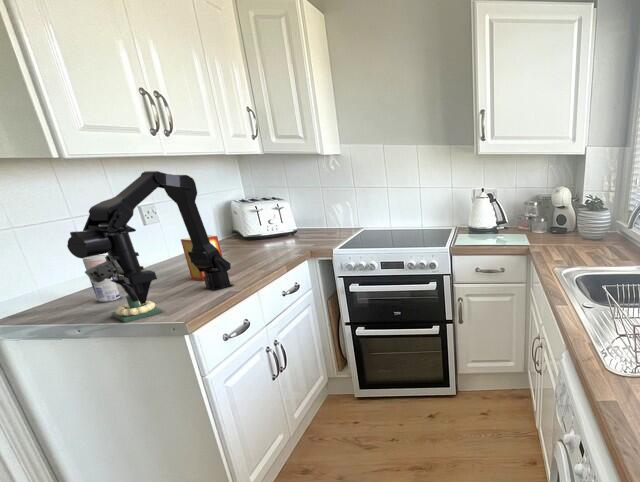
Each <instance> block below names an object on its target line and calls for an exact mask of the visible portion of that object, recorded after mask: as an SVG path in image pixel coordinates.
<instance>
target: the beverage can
mask: <svg viewBox="0 0 640 482" xmlns="http://www.w3.org/2000/svg"><path fill="white" fill-rule="evenodd" d="M105 257H106V255H105V254H100V255H96V256H91V257H86V258H81V260H82V263H83V266H84V267H85V271H86V270H88V269H90V268H92V267H95V266H97V265H99V264H101V263H103V262H105V261H106V259H105ZM88 279H89V282H90V284H91V286H92V289H93V292H94V294H95V297H96V300H97V302H100V303H108V302H109V303H110V302H112V301H117V300H119V299H120V298H121V294H120V291H119V289H118V286H117V283H114V282H112V281H111V280H114V278H113V277H111V279H105V280H104V281H102V282H99V283H97V282H94V281H93V280H92V279H91V278H90V277H89V276H88Z"/></svg>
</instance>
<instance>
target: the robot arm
mask: <svg viewBox="0 0 640 482" xmlns="http://www.w3.org/2000/svg"><path fill="white" fill-rule="evenodd" d="M159 188H160V189H163V190H164V191H165V193H166V195H167V196H168V197H169V199H171V200H172V201H173V202H174V203H175V204H176V206H177V208H178V211H179V214H180V215H181V218H182V221H183V224H184V226H185V230H186V231H187V234H188V237H189V238H190V239H191V242H192V244H193V247H192V250H191V251H190V252H188V255H189V256H190V259H191V263H193V264H194V265H195V266H196V267H197V269H198V270H199V272H204V275H205V276H204V281H203V282H204V284H205V289H209V290H212V291H217V290H221V289H224V288H229V287H233V286H234V284H233V283H231V281H230V277H229V273H228V271H231V266H232V264H231V263H230V262H229V261H228V260H227V259H226V258H224V257H223V255H222V256H221V255H220V253H219V251H218V249H217V248H216V247H215V246H213V245H212V244H211V243H210V241H209V238H208V236H207V235H208V233H207V230H206V227H205V225H204V222H203V220H202V217H201V214H200V212H199V208H198V206H197V202H196V199H197V196H198V189H197V183H196V181H195V179H194V178H193V177H191V176H190V175H187V174H171V173H165V172H162V171H159V170H145V171H143V172H142V173H141V174H140V175H139V176H138V177H137V178H136V179H135V180H134V181H132V182H131V183H130V184H129V185H127V187H125V188H124V189H122V191H120V192H119V193H118V194H117V195H116V196H114V197H111V198H108V199H105V200H102V201H100V202H98V203H96V204H94V205H91V207H90V208H89V209H88V214H89V215H88V217H87V220H86V222H85V224H84V227H83V229H82V230H80V231H75V230H74V231H70V232H69V234H70V237H69V238H68V240H67V245H66V247H67V249H68V251H69V253H71V254H72V255H73V256H74V257H75V258H78V259H82V258H86V257H91V256H96V255H105V254H106V255H105V259H106V261H105V262H103V263H101V264H99V265H97V266H95V267H92V268H90V269H88V270H86V269H85V271H84V274H85V275H86V276H87V277H88V278H89V277H90V278H91V279H92V280H93V281H94V282H97V283H99V282H102V281H104V280H105V279H111V277H113V278H114V280H111V281H112V282H114V283H116V285H119V286H121V288H122V289H123V290H124V292H125V293H126V295H129V297H130V298H131V299H132V301H133V302H136V301H139V302H140V303H141V304H144V303H146V301H147V300H148V295H149V291H150V288H151V283H152V282H153V281H155V280H158V277H157V274H156V271H153V270H150V269H146V268H144V266H143V265H140V261H139V259H138V257H139V256H140V254H139V252H138V251H135V247H134V244H133V242H132V240H131V239H132V238H131V235H130V233H135V232H136V230H137V229H136V228H134V227H131V226H130V225H129V224H128V223H129V222H130V221H131V219H132V218H133V216H134V210H135V208H137V207H138V205H139V204H141V203H142V202H143V201H144V200H146V199H147V198H148V197H149V196H150V195H151V194H152V193H153V192H154V191H156V190H157V189H159ZM222 257H223V258H222Z"/></svg>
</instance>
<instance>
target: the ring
mask: <svg viewBox="0 0 640 482" xmlns="http://www.w3.org/2000/svg"><path fill="white" fill-rule="evenodd" d="M139 304H140V307H138V308H132V309H130V308H129V305H128V303H125V304H122V305H119V306H118V307H116V308H115V310H114V312H115V313H116V314H118V315H120V316H131V315H138V314H142V313H146V312H148V311H151V310H153V309H154V307H156V303H155V302H153V301H151V300H146V303H144V304H141V303H140V302H139Z"/></svg>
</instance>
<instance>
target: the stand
mask: <svg viewBox="0 0 640 482" xmlns="http://www.w3.org/2000/svg"><path fill="white" fill-rule="evenodd" d="M125 299H126V301H127V304H128V305H129V308H130V309H132V308H138V307H140V304H139V300H138V301H136V302H133V301H132V299H131V298H130V297H129V295H128V294H126V295H125ZM158 314H162V309H161V308H159V307H156V306H155V307H154V309H153V310H151V311H148V312H146V313H142V314H138V315H131V316H120V315H118V314H116V313H115V311H114V312H111V316H112V317H113V318H115V319H116V320H119V321H122V322H123V323H128V322H131V321H135V320H139V319H143V318H146V317H152V316H154V315H158Z"/></svg>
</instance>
